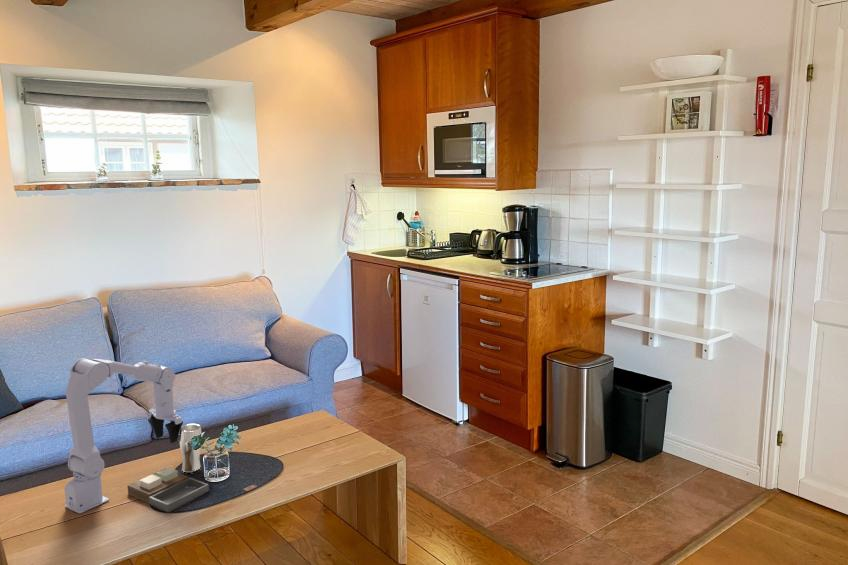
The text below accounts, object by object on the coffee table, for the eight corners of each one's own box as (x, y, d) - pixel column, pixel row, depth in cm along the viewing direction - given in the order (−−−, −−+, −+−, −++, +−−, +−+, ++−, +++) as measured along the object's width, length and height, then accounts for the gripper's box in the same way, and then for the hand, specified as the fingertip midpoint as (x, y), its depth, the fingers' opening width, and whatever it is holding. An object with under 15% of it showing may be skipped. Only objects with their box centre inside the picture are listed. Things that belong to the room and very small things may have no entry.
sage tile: (165, 481, 205) (165, 476, 204) (156, 478, 207) (156, 472, 207) (177, 476, 208) (177, 470, 208) (168, 472, 211) (168, 467, 210)
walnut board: (150, 503, 197) (149, 494, 197) (128, 494, 203) (127, 485, 203) (188, 484, 209) (188, 476, 208) (166, 476, 215) (166, 467, 214)
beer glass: (175, 470, 218) (174, 428, 215) (191, 463, 224) (190, 422, 221) (190, 476, 215) (189, 433, 212) (206, 468, 221) (205, 426, 218)
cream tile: (149, 489, 200) (148, 483, 199) (139, 486, 202) (139, 480, 202) (161, 483, 203) (161, 477, 203) (152, 480, 206) (152, 474, 205)
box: (168, 512, 192) (167, 505, 192) (149, 504, 197) (148, 497, 196) (209, 491, 205) (208, 484, 204) (190, 484, 209) (190, 477, 209)
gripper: (188, 401, 217) (190, 440, 219) (160, 393, 224) (163, 430, 226) (170, 408, 211) (172, 447, 213) (142, 399, 218) (145, 437, 221)
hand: (166, 439), depth 219 cm, fingers open, 7 cm apart
